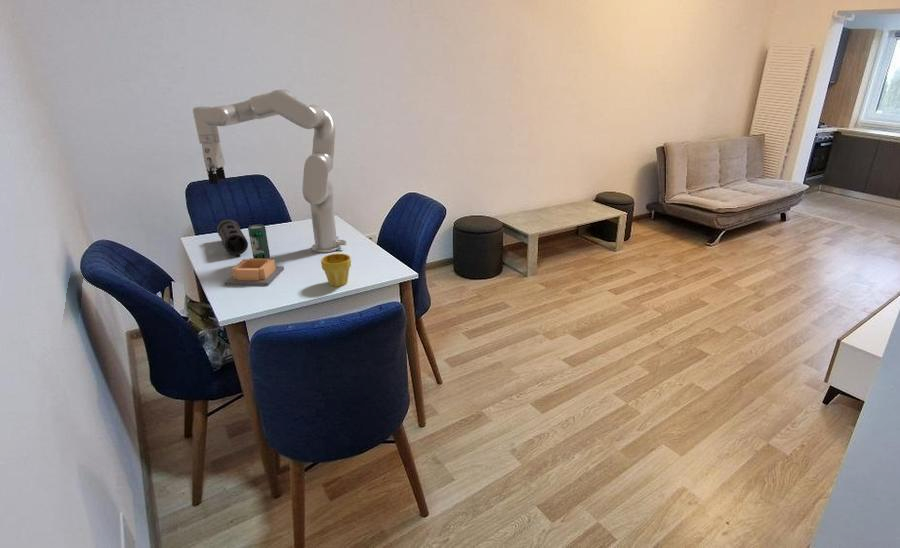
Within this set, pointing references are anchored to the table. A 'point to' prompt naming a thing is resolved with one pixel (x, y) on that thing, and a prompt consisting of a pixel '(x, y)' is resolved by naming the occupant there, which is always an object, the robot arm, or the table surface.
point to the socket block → (254, 272)
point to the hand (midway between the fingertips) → (217, 181)
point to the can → (259, 241)
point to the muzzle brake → (232, 237)
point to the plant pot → (336, 268)
